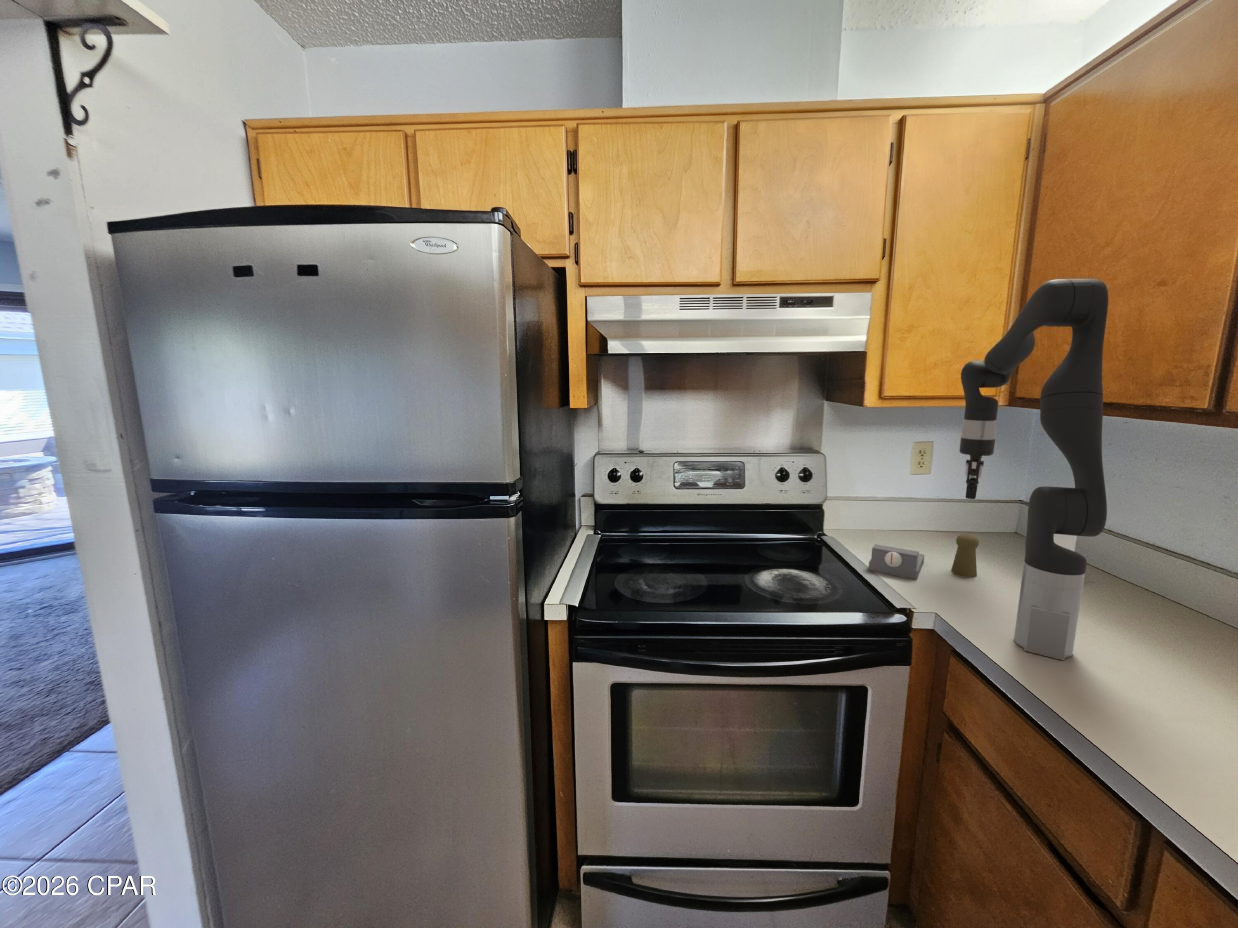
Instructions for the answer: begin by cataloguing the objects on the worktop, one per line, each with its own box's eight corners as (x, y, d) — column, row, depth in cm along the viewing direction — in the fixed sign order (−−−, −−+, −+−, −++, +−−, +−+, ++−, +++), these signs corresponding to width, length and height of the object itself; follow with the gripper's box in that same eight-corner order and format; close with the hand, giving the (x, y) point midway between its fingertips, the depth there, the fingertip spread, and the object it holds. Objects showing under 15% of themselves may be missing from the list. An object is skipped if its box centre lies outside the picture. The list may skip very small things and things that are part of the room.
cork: (952, 574, 139) (956, 537, 137) (949, 567, 144) (953, 531, 142) (978, 578, 136) (983, 540, 134) (975, 571, 142) (979, 533, 140)
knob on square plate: (916, 580, 136) (918, 556, 134) (868, 570, 143) (869, 547, 141) (923, 562, 149) (925, 540, 147) (879, 554, 156) (880, 533, 154)
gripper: (995, 440, 126) (987, 503, 129) (995, 434, 137) (988, 492, 140) (959, 438, 130) (952, 499, 133) (962, 433, 141) (956, 488, 144)
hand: (971, 495), depth 137 cm, fingers open, 8 cm apart
